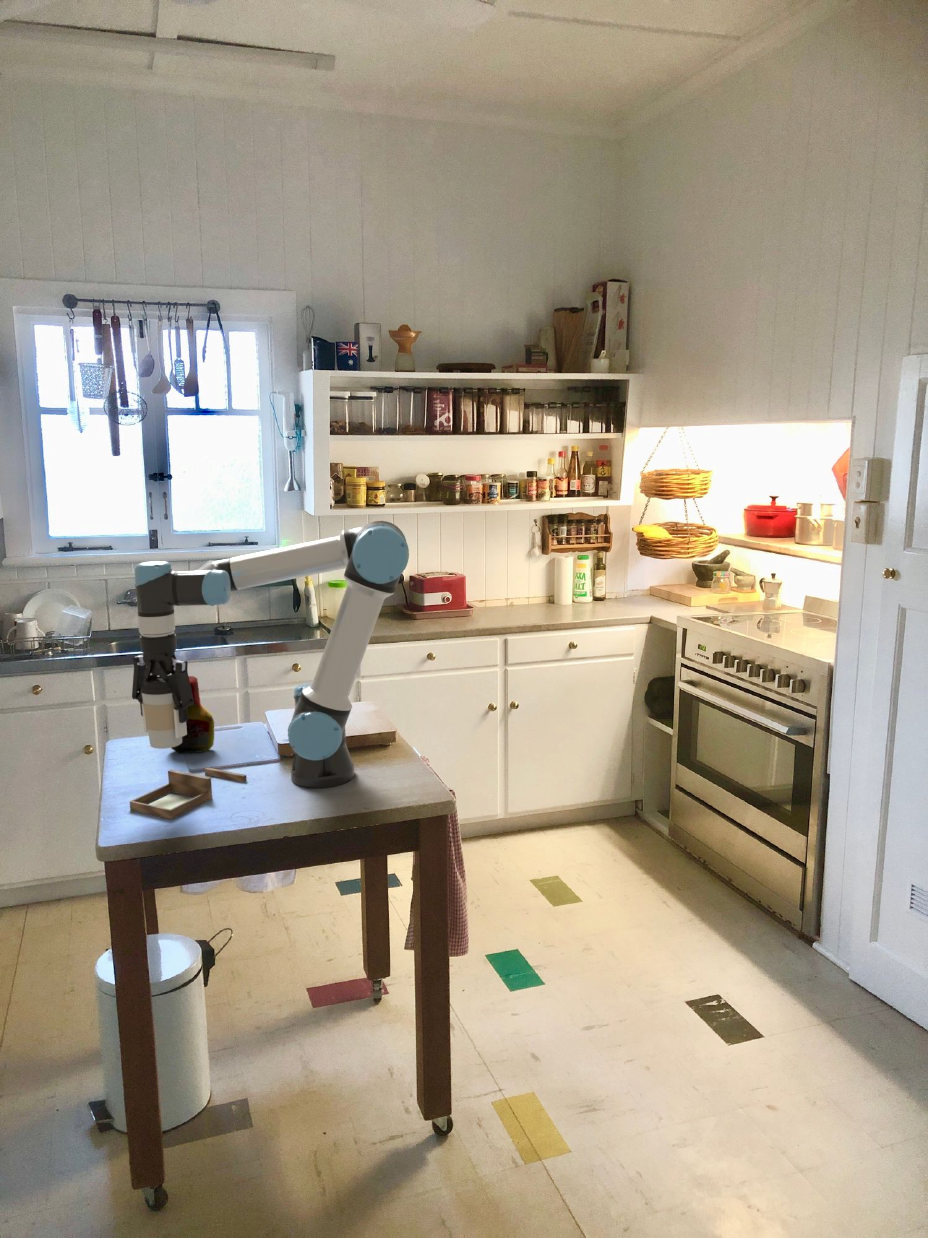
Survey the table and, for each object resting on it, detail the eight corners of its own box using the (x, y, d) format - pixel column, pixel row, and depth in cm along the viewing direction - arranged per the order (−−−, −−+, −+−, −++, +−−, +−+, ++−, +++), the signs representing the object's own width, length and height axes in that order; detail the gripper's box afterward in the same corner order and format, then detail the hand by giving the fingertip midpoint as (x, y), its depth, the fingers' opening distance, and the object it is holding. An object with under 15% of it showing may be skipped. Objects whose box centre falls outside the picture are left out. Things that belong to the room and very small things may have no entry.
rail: (246, 780, 227) (246, 775, 226) (243, 782, 226) (243, 776, 225) (207, 773, 232) (207, 767, 232) (205, 774, 231) (204, 768, 231)
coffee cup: (195, 738, 213) (190, 673, 210) (174, 751, 205) (169, 684, 202) (158, 735, 215) (153, 671, 212) (136, 748, 207) (131, 682, 204)
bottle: (218, 746, 251) (213, 673, 247) (211, 755, 245) (206, 680, 241) (173, 747, 251) (168, 674, 247) (165, 755, 245) (159, 680, 241)
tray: (212, 798, 216) (210, 777, 215) (171, 819, 205) (169, 797, 204) (172, 790, 221) (170, 769, 220) (130, 810, 210) (128, 788, 209)
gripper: (207, 634, 204) (214, 735, 208) (134, 625, 213) (142, 722, 218) (182, 641, 197) (190, 745, 202) (108, 632, 207) (117, 731, 211)
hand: (165, 733), depth 210 cm, fingers closed on coffee cup, 9 cm apart
